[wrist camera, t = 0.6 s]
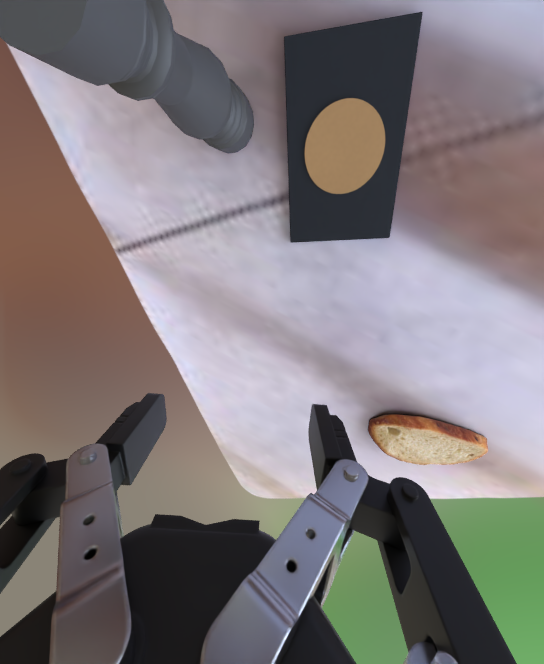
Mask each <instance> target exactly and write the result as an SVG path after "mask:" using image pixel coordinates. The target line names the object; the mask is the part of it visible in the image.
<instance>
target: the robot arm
mask: <svg viewBox="0 0 544 664" xmlns="http://www.w3.org/2000/svg"><path fill="white" fill-rule="evenodd" d="M165 425H166V408H165V398H164V395H163V394H152V393H148V394H147V395H146V396H145V397H144V398H143V399H142V400H141V402H136V403H134V404H133V405H131V406H129V407H128V408H126V409H125V411H124V412H123V413H122V414H121V415H120V417H118V418H117V420H116V421H115V423H113V424H112V425H111V426H110V427H109V429H108V430H107V431H106V432H105V433H104V434H103V435H102V436H101V438H100V439H99V440H98V441H97V442H96V443H95V444H90V445H87V446H84V447H82V448H80V449H78V450H77V451H75V452H74V453H73V454H72V455H71V456H70V457H69V458H68V459H64V460H59V461H53V462H48V463H46V461H45V458H44V456H43V455H41V454H29V455H25V456H21V457H19V458H17V459H14V460H13V461H11V462H9V463H8V464H6V465H5V466H4V467H2V468H1V469H0V525H1V524H2V523H3V522H4V521H5V519H6V518H7V517H8V516H9V515H10V514H12V516H11V518H10V519H9V520H8V521H7V522H6V523H5V524H4V525H3V527H2V528H1V529H0V593H1V592H2V591H3V589H4V588H5V587H6V585H7V584H8V582H9V581H10V580H11V578H12V577H13V576H14V574H15V573H16V572H17V570H18V569H19V567H20V566H21V565H22V563H23V562H24V561H25V559H26V558H27V557H28V555H29V554H30V552H31V551H32V550H33V548H34V547H35V546H36V544H37V543H38V541H39V540H40V539H41V537H42V536H43V535H44V533H45V532H46V530H47V529H48V528H49V526H50V525H51V524H52V522H53V521H54V520H55V518H57V517H60V528H59V548H58V569H57V590H56V592H54V593H53V594H52V595H51V596H50V597H48V598H47V599H46V600H45V601H43V602H42V603H41V604H40V605H39V606H37V607H36V608H35V609H34V610H33V611H31V612H30V613H29V614H28V615H26V616H25V617H24V618H23V619H22V620H20V621H19V622H18V623H17V624H16V625H14V626H13V627H12V628H11V629H10V630H8V631H7V632H6V633H5V634H3V635H2V636H1V637H0V664H356V662H355V661H354V659H353V658H352V656H351V655H350V653H349V651H348V650H347V648H346V646H345V645H344V643H343V642H342V640H341V638H340V637H339V635H338V634H337V632H336V630H335V629H334V627H333V626H332V624H331V622H330V621H329V619H328V618H327V616H326V614H325V613H324V611H323V610H322V606H323V604H324V602H325V599H326V597H327V595H328V593H329V590H330V587H331V585H332V582H333V580H334V577H335V574H336V571H337V569H338V566H339V564H340V562H341V560H342V557H343V555H344V553H345V551H346V549H347V546H348V544H349V542H350V540H351V537H352V535H353V533H354V531H357V532H359V533H362V534H364V535H367V536H369V537H371V538H374V539H376V540H377V541H378V545H379V548H380V552H381V555H382V559H383V562H384V566H385V570H386V573H387V577H388V580H389V584H390V588H391V591H392V595H393V598H394V602H395V605H396V609H397V612H398V616H399V620H400V623H401V627H402V630H403V634H404V637H405V641H406V645H407V648H408V652H409V653H408V655H407V657H406V659H405V661H404V663H403V664H517V663H516V662H515V660H514V658H513V656H512V654H511V652H510V650H509V648H508V646H507V645H506V643H505V641H504V639H503V637H502V635H501V633H500V631H499V629H498V628H497V626H496V624H495V622H494V620H493V618H492V616H491V614H490V612H489V610H488V609H487V607H486V605H485V603H484V601H483V599H482V597H481V595H480V593H479V591H478V590H477V588H476V586H475V584H474V582H473V580H472V578H471V576H470V574H469V572H468V571H467V569H466V567H465V565H464V563H463V561H462V559H461V557H460V556H459V554H458V552H457V550H456V548H455V546H454V544H453V542H452V540H451V538H450V537H449V535H448V533H447V531H446V529H445V527H444V525H443V523H442V521H441V519H440V518H439V516H438V514H437V512H436V510H435V508H434V506H433V504H432V503H431V500H430V499H429V497H428V495H427V493H426V492H425V491H424V489H423V488H422V487H421V486H419V485H418V484H417V483H415V482H414V481H412V480H409V479H407V478H402V477H399V478H395V479H393V480H392V481H391V483H390V484H389V483H386V482H383V481H380V480H377V479H375V478H372V477H370V476H369V475H368V474H367V472H366V470H365V469H364V468H363V467H362V466H361V465H360V464H358V463H357V461H356V458H355V455H354V452H353V450H352V447H351V444H350V441H349V438H348V436H347V433H346V431H345V427H344V425H343V422H342V421H341V420H340V419H339V418H338V417H337V416H336V415H330V414H329V411H328V408H327V405H317V404H313V405H312V408H311V416H310V423H309V443H310V450H311V456H312V462H313V468H314V475H315V481H316V487H317V492H316V493H315V494H314V495H313V494H312V493H310V494H309V495H308V496H307V497H306V499H305V500H304V502H303V503H302V505H301V506H300V507H299V509H298V510H297V512H296V513H295V514H294V516H293V517H292V519H291V520H290V522H289V523H288V524H287V526H286V527H285V529H284V530H283V531H282V533H281V534H280V536H279V537H278V538H277V540H275V539H274V538H273V537H271V536H270V535H268V534H266V533H265V532H262V531H260V530H259V521H253V520H238V519H233V520H228V521H223V522H218V523H213V524H209V525H204V524H201V523H198V522H196V521H193V520H191V519H188V518H185V517H183V516H174V515H158V514H157V515H155V517H154V519H153V521H152V523H151V524H150V525H146V526H143V527H140V528H138V529H136V530H134V531H132V532H130V533H128V534H127V535H125V536H124V533H123V528H122V521H121V515H120V509H119V504H118V497H117V490H118V488H119V487H120V485H131V484H132V482H133V481H134V479H135V477H136V476H137V474H138V472H139V470H140V469H141V467H142V465H143V463H144V462H145V460H146V459H147V457H148V455H149V454H150V452H151V450H152V449H153V447H154V445H155V444H156V442H157V440H158V439H159V437H160V435H161V434H162V432H163V430H164V428H165Z"/></svg>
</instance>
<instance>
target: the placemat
mask: <svg viewBox="0 0 544 664" xmlns="http://www.w3.org/2000/svg"><path fill="white" fill-rule="evenodd" d="M421 19H422V12H419V13H413V14H408V15H402V16H397V17H391V18H385V19H380V20H374V21H369V22H363V23H357V24H352V25H346V26H341V27H335V28H329V29H324V30H318V31H312V32H307V33H301V34H296V35H290V36H285V37H284V47H285V78H286V110H287V142H288V174H289V205H290V237H291V242H310V241H331V240H352V239H373V238H389V237H390V230H391V223H392V216H393V210H394V203H395V196H396V189H397V182H398V176H399V169H400V162H401V155H402V148H403V141H404V135H405V128H406V121H407V114H408V107H409V101H410V94H411V87H412V80H413V73H414V66H415V60H416V53H417V46H418V39H419V32H420V26H421Z"/></svg>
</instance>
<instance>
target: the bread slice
mask: <svg viewBox="0 0 544 664" xmlns="http://www.w3.org/2000/svg"><path fill="white" fill-rule="evenodd" d="M368 431H369V434H370V436H371V438H372V439H373V441H374V442H375V443H376V444H377V445H378V447H379V448H380V449H381V450H382V451H383V452H384V453H386V454H387V455H389V456H392V457H394V458H396V459H398V460H400V461H405V462H409V463H413V464H420V465H427V464H441V465H446V464H457V463H463V462H468V461H472V460H475V459H477V458H480V457H482V456H483V455H484V454H486V453H487V452H488V446H487V439H486V438H485V437H484V436H482V435H479V434H477V433H475V432H472V431H471V430H469V429H464V428H462V427H457V426H454V425H452V424H447V423H444V422H441V421H437V420H434V419H429V418H425V417H420V416H409V415H398V414H389V415H382V416H379V417H377V418H372V419H371V420H370V421H369V427H368Z"/></svg>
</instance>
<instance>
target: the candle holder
mask: <svg viewBox="0 0 544 664" xmlns="http://www.w3.org/2000/svg"><path fill="white" fill-rule="evenodd" d="M0 37H1V38H2V39H3V40H4V41H5V42H6V43H8V44H9V45H10V46H12V47H14V48H16V49H18V50H21V51H23V52H25V53H27V54H29V55H31V56H33V57H35V58H37V59H39V60H41V61H43V62H45V63H47V64H49V65H51V66H53V67H55V68H57V69H59V70H62V71H64V72H66V73H68V74H70V75H72V76H74V77H76V78H79V79H81V80H84V81H87V82H89V83H92V84H94V85H97V86H99V85H104V84H109V85H110V86H111V87H112V88H113V89H114V90H115V91H116V92H117V93H119V94H121V95H124V96H126V97H129V98H132V99H134V100H137V101H140V100H145V99H151V98H153V99H155V100H156V102H157V103H158V104H159V105H160V107H161V108H162V109H163V110H164V112H165V113H166V114H167V115H168V117H169V118H170V119H171V121H172V122H173V123H174V124H175V125H176V126H177V127H178V128H179V129H180V130H181V131H182V132H183V133H184V134H187V135H189V136H192V137H194V138H197V139H203V140H204V141H205V142H206V143H207V144H208V145H209V146H212V147H214V148H216V149H218V150H221V151H223V152H226V153H233V152H238V151H239V150H241V149H242V148H244V147H245V146H246V144H247V143H248V141H249V140H250V138H251V136H252V131H253V126H254V120H253V111H252V108H251V106H250V104H249V101H248V99H247V98H246V96H245V95H244V93H243V92H242V90H241V89H240V88H239V87H238V86H237V85H236V84H235V83H234V82H233V81H232V80H231V79H229V78H228V75H227V73H226V71H225V68H224V66H223V64H222V63H221V61H220V60H219V59H218V58H217V57H216V56H215V55H214V54H213V53H212V51H211V50H210V49H209V48H207V47H205V46H203V45H201V44H198V43H196V42H194V41H192V40H190V39H188V38H186V37H184V36H182V35H180V34H177V33H176V32H175V31H174V30H173V25H172V19H171V16H170V13H169V11H168V9H167V7H166V5H165V3H164V1H163V0H0Z"/></svg>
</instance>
